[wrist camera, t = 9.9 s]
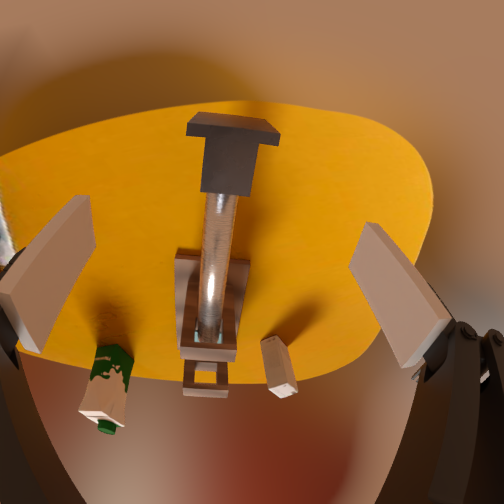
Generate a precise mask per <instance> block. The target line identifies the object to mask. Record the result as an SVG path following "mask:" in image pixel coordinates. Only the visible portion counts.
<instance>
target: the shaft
mask: <svg viewBox="0 0 504 504" xmlns="http://www.w3.org/2000/svg"><path fill="white" fill-rule="evenodd" d="M280 135H281V134H280V133H279V132H278V131H277V130H276V129H275V128H274V127H273V126H272V125H271V124H270V123H268V122H267V121H266V120H265V119H259V118H252V117H244V116H237V115H228V114H218V113H208V112H198V113H197V114H196V115H195V116H194V117H193V118H192V119H191V120H190V121H189V122H188V123H187V131H186V136H196V137H206V140H205V149H204V158H203V168H202V178H201V189H200V192H206V204H205V215H204V226H203V239H202V253H201V268H200V285H199V305H198V331H197V338H198V340H199V342H204V343H217V342H218V340H219V335H220V327H221V319H222V311H223V304H224V296H225V288H226V281H227V273H228V266H229V259H230V252H231V244H232V237H233V230H234V224H235V217H236V210H237V203H238V197H239V196H246V197H250V192H251V186H252V180H253V174H254V169H255V163H256V157H257V151H258V146H259V143H260V144H266V145H273V146H278V145H279V140H280Z"/></svg>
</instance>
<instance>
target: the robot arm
mask: <svg viewBox="0 0 504 504" xmlns="http://www.w3.org/2000/svg"><path fill="white" fill-rule="evenodd" d="M95 247H96V243H95V237H94V230H93V223H92V215H91V206H90V195H75V196H74V197H73V198H72V199H71V200H70V201H69V202H68V203H67V204H66V205H65V206H64V207H63V208H62V209H61V210H60V211H59V212H58V213H57V214H56V215H55V216H54V217H53V218H52V219H51V220H50V221H49V223H48V224H47V225H46V226H45V227H44V228H43V229H42V230H41V231H40V232H39V234H38V235H37V236H36V237H35V238H34V239H33V240H32V241H31V243H30V244H29V245H28V246H27V247H24V248H23V249H22V250H20V251H19V252H18V253H16V254H15V255H14V256H13V258H12V259H11V260H10V261H9V264H7V265H6V266H5V268H4V269H3V271H2V272H1V273H0V502H1V504H86V502H85V500H84V499H83V498H82V496H81V494H80V493H79V491H78V490H77V488H76V487H75V485H74V483H73V482H72V480H71V478H70V477H69V475H68V473H67V472H66V470H65V468H64V466H63V465H62V463H61V461H60V459H59V457H58V455H57V453H56V451H55V449H54V447H53V445H52V443H51V441H50V439H49V437H48V435H47V432H46V430H45V428H44V426H43V423H42V421H41V419H40V416H39V413H38V411H37V409H36V406H35V403H34V400H33V398H32V395H31V392H30V389H29V386H28V383H27V380H26V376H25V373H24V370H23V367H22V363H21V359H20V355H19V352H18V350H17V348H16V346H15V345H16V343H17V341H18V339H19V340H20V342H21V343H22V345H23V347H24V348H25V349H26V350H29V351H32V352H36V353H39V354H41V353H42V350H43V348H44V345H45V343H46V341H47V338H48V336H49V334H50V332H51V330H52V327H53V325H54V323H55V321H56V319H57V317H58V315H59V313H60V311H61V309H62V307H63V305H64V303H65V301H66V299H67V297H68V295H69V293H70V291H71V289H72V287H73V285H74V284H75V282H76V280H77V278H78V276H79V275H80V273H81V271H82V269H83V268H84V266H85V264H86V262H87V261H88V259H89V257H90V256H91V254H92V252H93V251H94V249H95ZM349 269H350V270H351V272H352V274H353V276H354V277H355V279H356V281H357V283H358V285H359V286H360V288H361V290H362V292H363V294H364V296H365V297H366V299H367V301H368V303H369V305H370V307H371V309H372V311H373V312H374V314H375V316H376V318H377V320H378V322H379V324H380V326H381V328H382V330H383V332H384V334H385V336H386V338H387V340H388V342H389V344H390V346H391V348H392V350H393V352H394V354H395V356H396V359H397V361H398V363H399V365H400V367H401V368H406V367H410V366H415V364H416V363H417V362H418V361H419V360H420V359H421V357H422V356H423V357H424V359H425V361H426V362H425V363H424V364H423V365H422V366H421V367H420V369H419V370H418V371H417V372H416V373H415V374H414V375H413V376H412V378H411V379H412V380H414V379H415V378H416V377H417V376H418V375H419V379H418V380H417V381H416V382H418V384H417V388H416V392H415V396H414V400H413V404H412V408H411V411H410V415H409V418H408V421H407V424H406V428H405V431H404V434H403V437H402V440H401V443H400V445H399V448H398V451H397V454H396V456H395V459H394V461H393V464H392V467H391V469H390V471H389V474H388V476H387V478H386V481H385V483H384V485H383V487H382V490H381V492H380V494H379V496H378V498H377V500H376V502H375V504H504V337H503V335H502V334H501V333H500V332H499V331H497V330H494V329H490V330H489V331H488V332H487V333H486V335H485V336H484V337H481V336H478V335H477V333H476V331H475V330H474V329H473V328H472V327H471V326H470V325H469V324H467V323H465V322H461V321H460V322H456V321H455V319H454V318H453V316H452V315H451V313H450V312H449V310H448V309H447V307H446V306H445V305H444V303H443V302H442V301H441V300H440V298H439V296H438V295H437V294H435V293H436V292H435V291H434V290H433V288H432V287H431V286H430V285H429V283H427V282H426V281H425V280H424V278H423V277H422V276H421V274H420V273H419V272H418V271H417V270H416V268H415V267H414V266H413V264H412V263H411V262H410V261H409V259H408V258H407V257H406V256H405V254H404V253H403V252H402V251H401V250H400V248H399V247H398V246H397V245H396V244H395V243H394V241H393V240H392V239H391V238H390V237H389V236H388V234H387V233H386V232H385V231H384V230H383V229H382V228H381V226H380V225H379V224H376V223H370V222H366V223H365V226H364V229H363V231H362V234H361V236H360V239H359V242H358V244H357V247H356V249H355V252H354V254H353V257H352V259H351V262H350V264H349ZM488 370H489V374H490V376H489V377H488V378H487V379H486V380H485V381H484V382H483V383H480V378H481V377H482V376H483V375H484V374H485V373H486V372H487V371H488Z"/></svg>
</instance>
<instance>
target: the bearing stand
mask: <svg viewBox="0 0 504 504" xmlns="http://www.w3.org/2000/svg"><path fill="white" fill-rule="evenodd" d="M200 268H201V256H190V255H178V254H176V255H175V306H176V329H177V346H178V349H179V350H180V356H181V359H185V363H184V377H183V395H185V396H199V397H220V398H227V395H228V368H227V362H235V357H236V352H237V344H236V336H237V331H238V325H239V320H240V315H241V310H242V305H243V300H244V294H245V289H246V284H247V279H248V274H249V268H250V260H238V259H229V266H228V273H227V281H226V288H225V296H224V304H223V311H222V319H221V327H220V332H221V344H220V343H204V342H194V341H195V330H198V305H199V285H200ZM195 370H198V371H214V372H216V385H207V384H194V376H195Z"/></svg>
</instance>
